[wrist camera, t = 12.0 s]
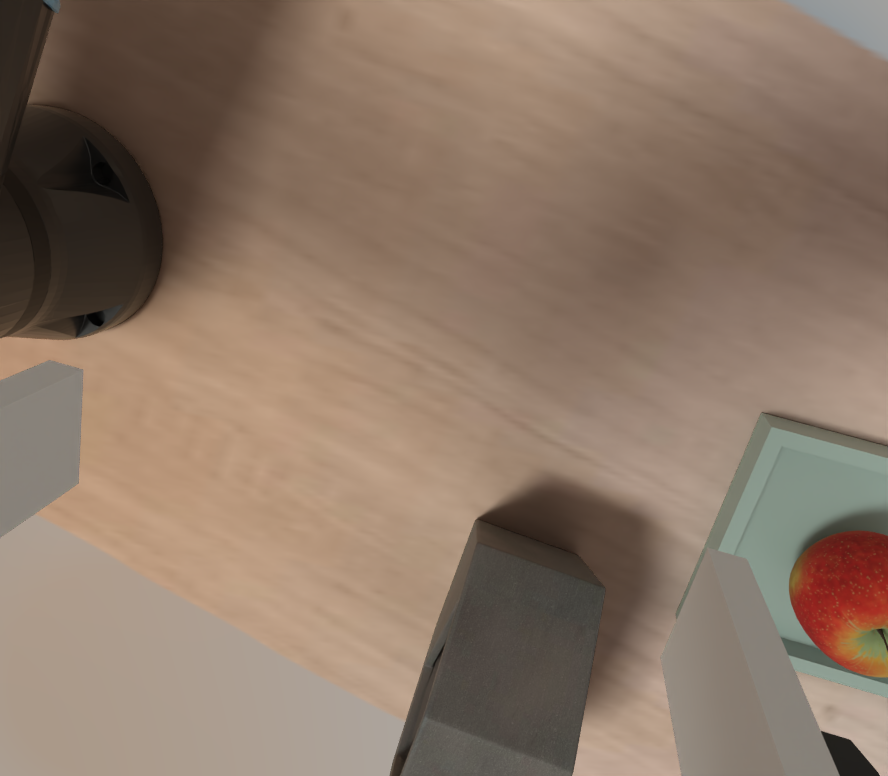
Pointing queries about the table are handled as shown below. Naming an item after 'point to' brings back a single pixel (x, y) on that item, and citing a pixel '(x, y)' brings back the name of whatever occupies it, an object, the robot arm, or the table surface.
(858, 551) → the apple
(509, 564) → the grey hexagonal block
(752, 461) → the dish
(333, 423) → the table surface
